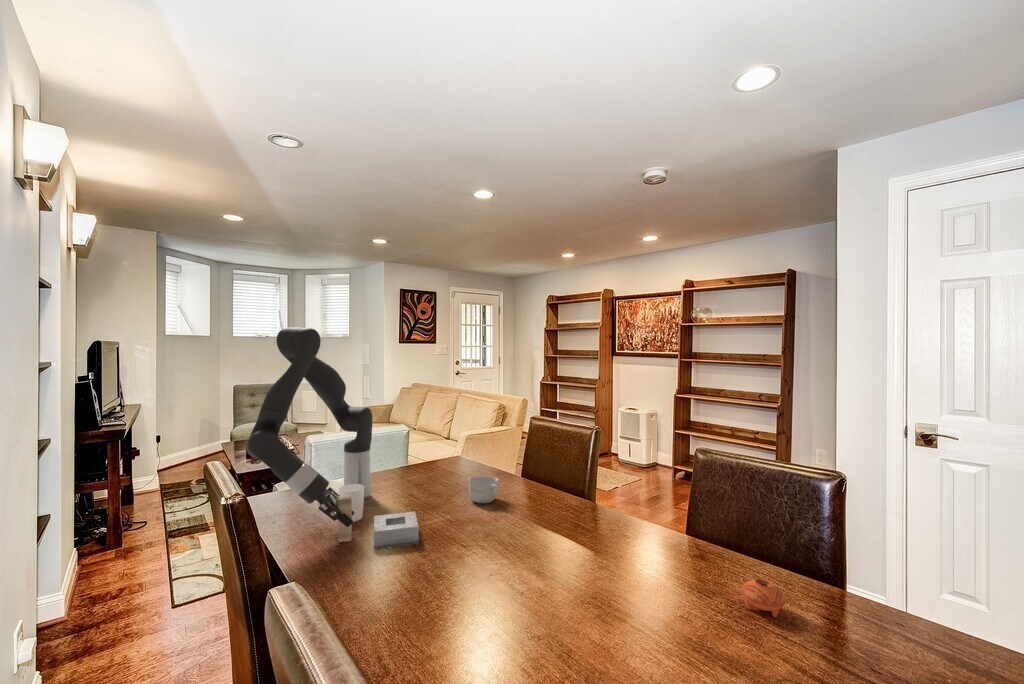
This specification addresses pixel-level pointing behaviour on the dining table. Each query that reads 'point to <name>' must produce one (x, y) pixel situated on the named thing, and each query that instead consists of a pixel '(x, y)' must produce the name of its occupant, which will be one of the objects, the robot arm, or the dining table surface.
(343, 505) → the square wooden peg
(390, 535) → the grey square socket block
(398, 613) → the dining table surface
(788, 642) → the dining table surface
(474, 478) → the teacup
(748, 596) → the footed terracotta jar
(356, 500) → the white cup
